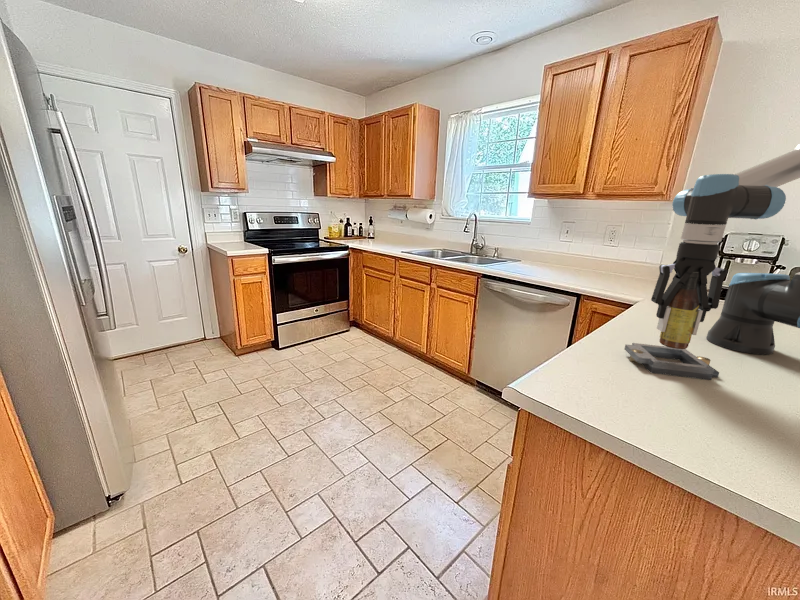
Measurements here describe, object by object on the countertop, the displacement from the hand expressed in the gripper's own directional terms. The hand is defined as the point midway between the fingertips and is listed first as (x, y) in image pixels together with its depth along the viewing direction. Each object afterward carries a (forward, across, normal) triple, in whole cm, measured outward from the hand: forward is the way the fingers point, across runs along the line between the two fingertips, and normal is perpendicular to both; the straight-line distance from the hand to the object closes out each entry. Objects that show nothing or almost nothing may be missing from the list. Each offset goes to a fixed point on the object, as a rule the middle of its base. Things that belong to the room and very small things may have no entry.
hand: (675, 331), depth 87 cm
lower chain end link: (+10, +1, 0) cm, 10 cm away
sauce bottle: (+4, 0, 0) cm, 4 cm away
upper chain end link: (+10, -1, 0) cm, 10 cm away
